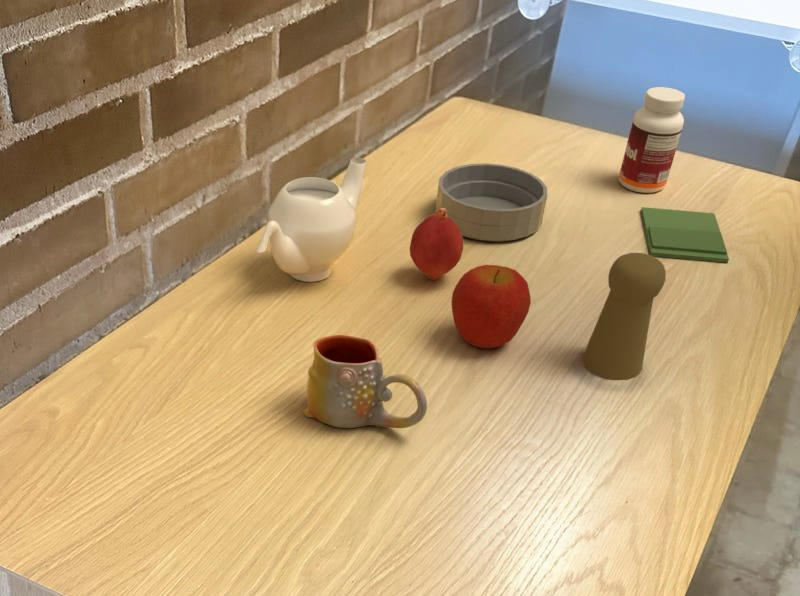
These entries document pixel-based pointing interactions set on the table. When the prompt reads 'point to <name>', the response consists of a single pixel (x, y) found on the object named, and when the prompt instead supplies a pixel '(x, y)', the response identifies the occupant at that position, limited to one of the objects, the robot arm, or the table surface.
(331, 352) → the mug
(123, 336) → the table surface
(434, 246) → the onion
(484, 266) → the apple
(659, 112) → the pill bottle
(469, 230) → the pan
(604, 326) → the brown tapered knob piece
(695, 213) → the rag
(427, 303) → the table surface
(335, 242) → the teapot
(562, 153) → the table surface
